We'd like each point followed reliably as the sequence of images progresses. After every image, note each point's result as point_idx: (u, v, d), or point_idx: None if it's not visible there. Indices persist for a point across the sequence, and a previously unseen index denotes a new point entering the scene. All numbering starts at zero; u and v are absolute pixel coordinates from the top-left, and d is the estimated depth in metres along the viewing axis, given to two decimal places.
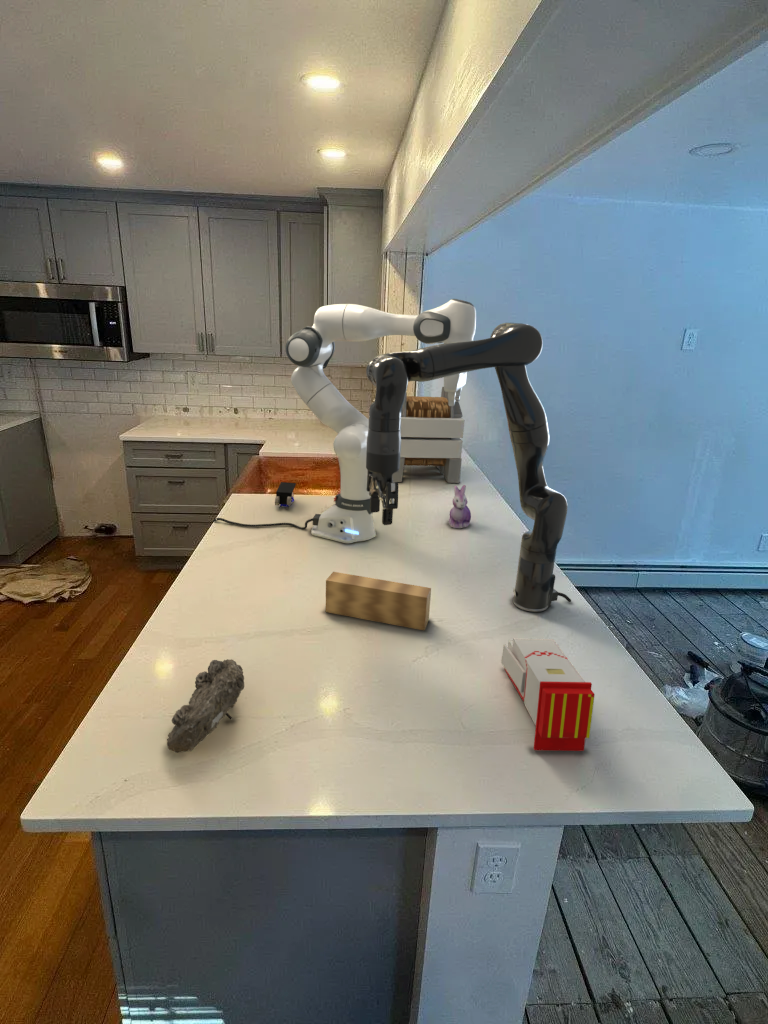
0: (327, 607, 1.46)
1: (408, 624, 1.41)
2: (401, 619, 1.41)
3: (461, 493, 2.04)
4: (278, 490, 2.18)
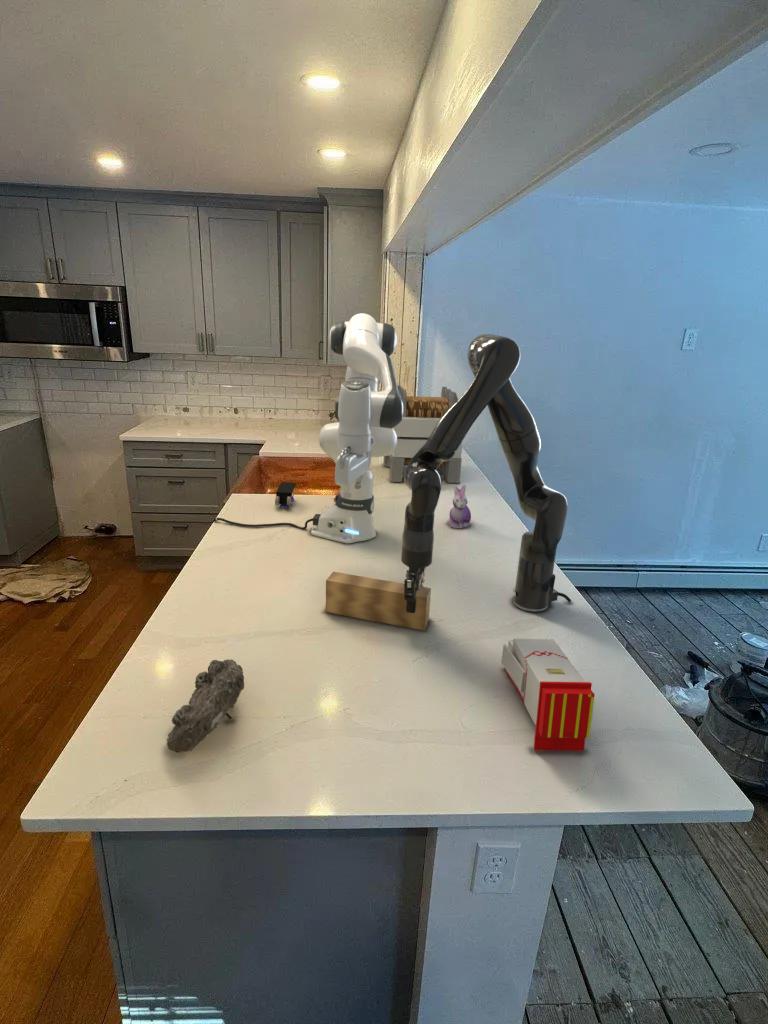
0: (327, 607, 1.46)
1: (408, 624, 1.41)
2: (401, 619, 1.41)
3: (461, 493, 2.04)
4: (278, 490, 2.18)
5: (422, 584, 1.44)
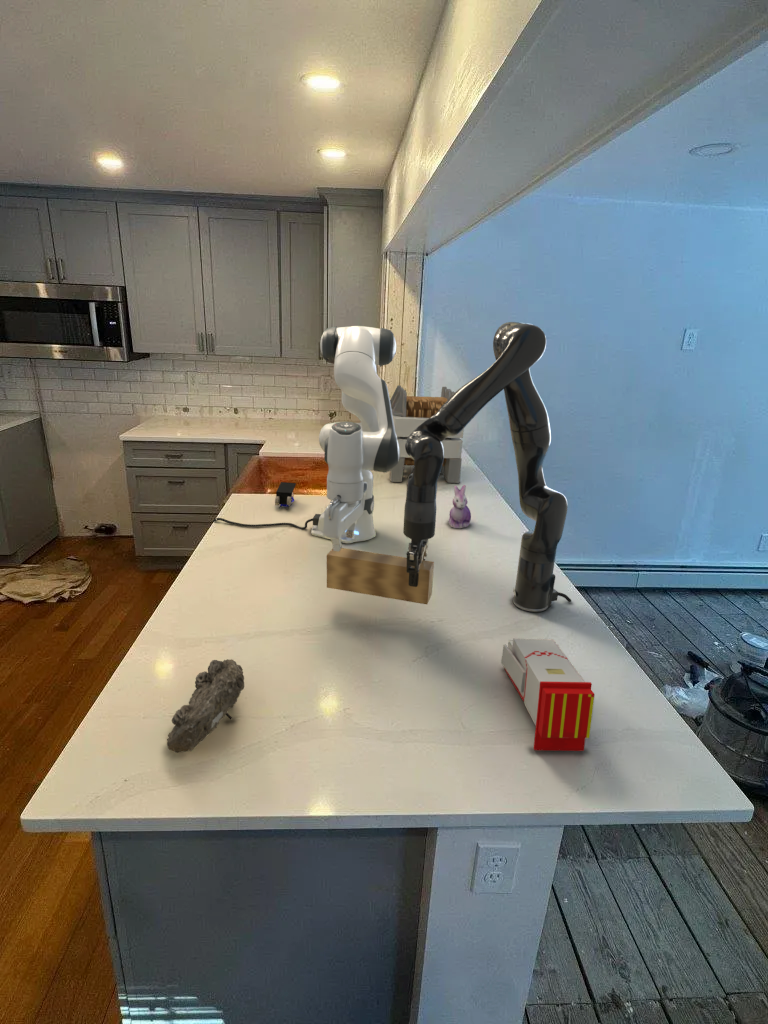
0: (328, 582, 1.44)
1: (410, 599, 1.39)
2: (403, 593, 1.39)
3: (461, 493, 2.04)
4: (278, 490, 2.18)
5: None
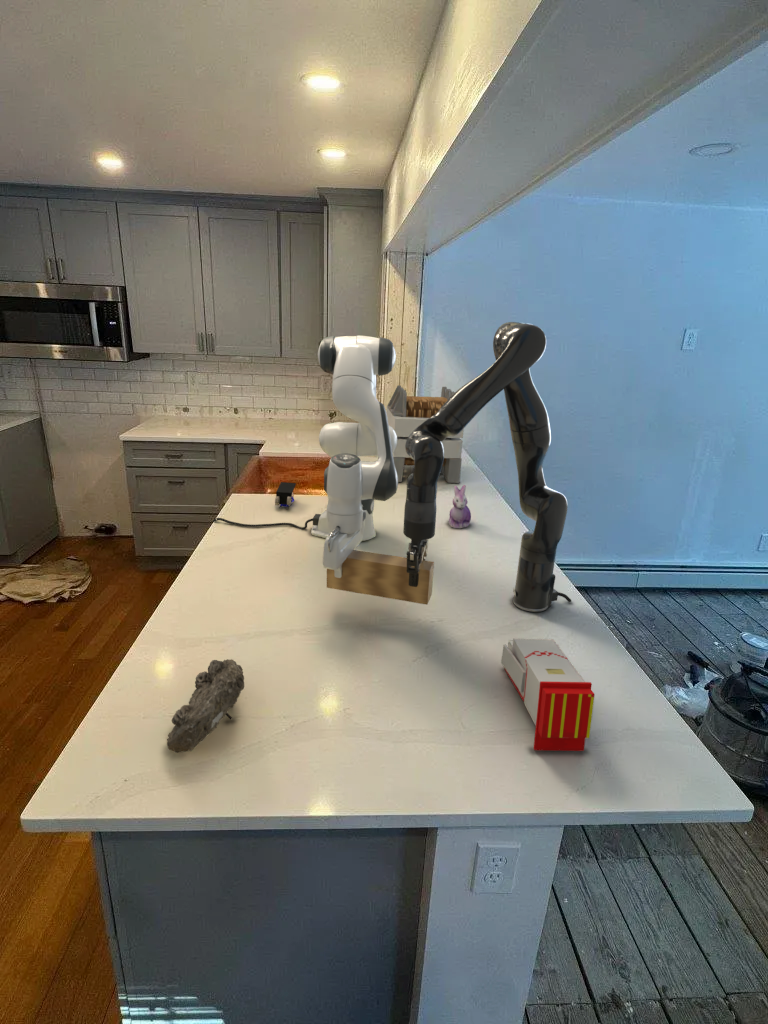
0: (328, 583, 1.44)
1: (410, 599, 1.39)
2: (403, 593, 1.39)
3: (461, 493, 2.04)
4: (278, 490, 2.18)
5: None
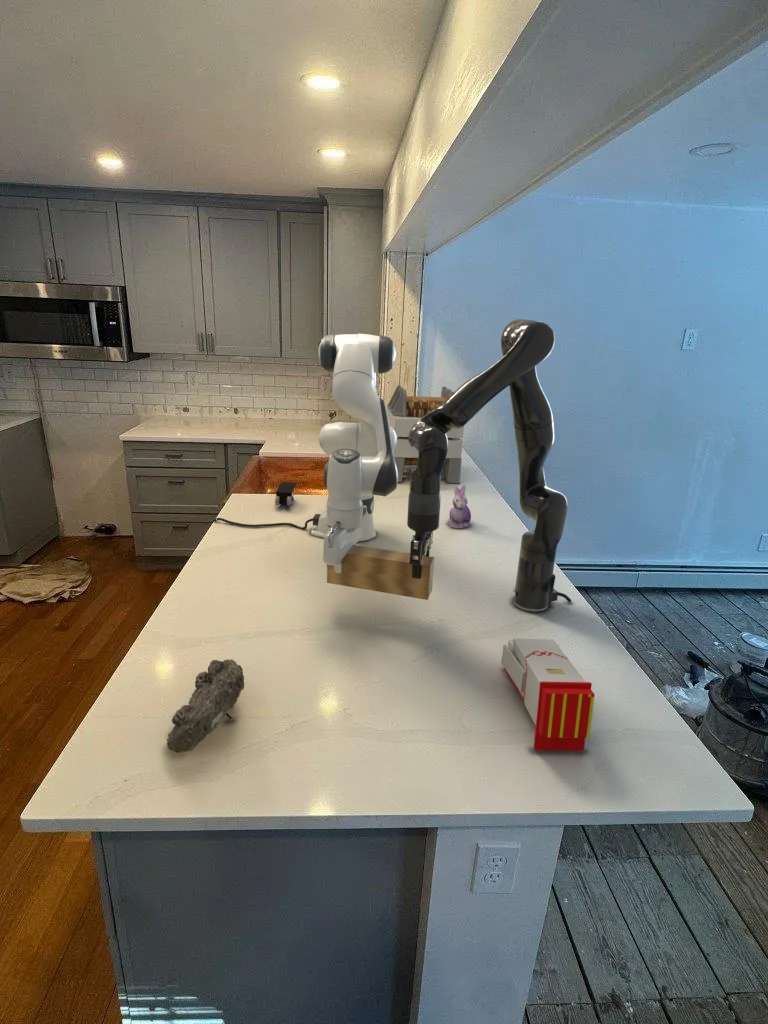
0: (328, 578, 1.44)
1: (411, 594, 1.39)
2: (404, 588, 1.39)
3: (461, 493, 2.04)
4: (278, 490, 2.18)
5: (430, 546, 1.41)
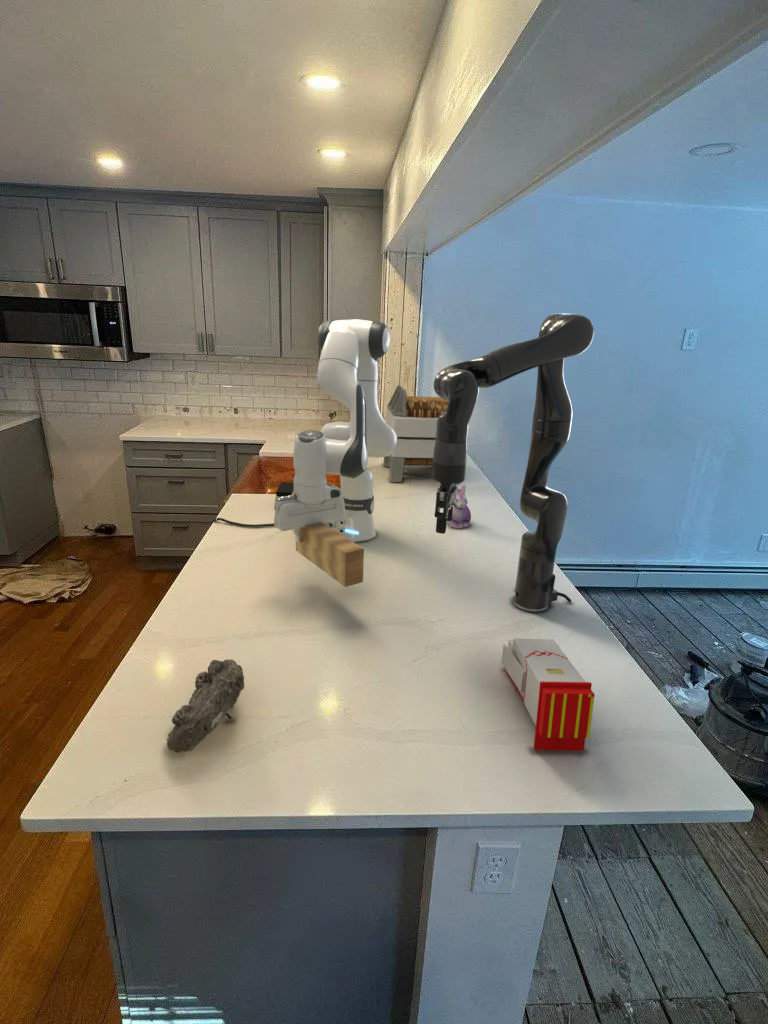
0: (296, 546, 1.59)
1: (336, 577, 1.43)
2: (332, 570, 1.44)
3: (461, 493, 2.04)
4: (278, 490, 2.18)
5: (454, 502, 1.36)
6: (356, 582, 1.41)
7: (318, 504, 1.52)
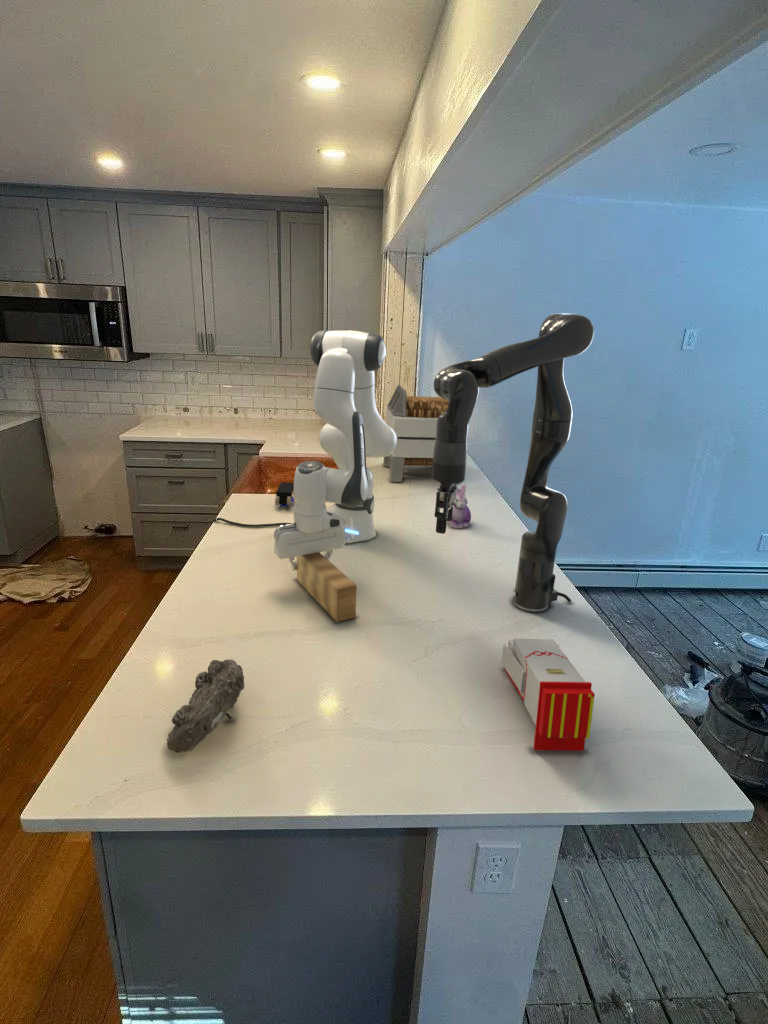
0: (297, 575, 1.62)
1: (329, 611, 1.45)
2: (326, 604, 1.47)
3: (461, 493, 2.04)
4: (278, 490, 2.18)
5: (454, 502, 1.36)
6: (348, 617, 1.44)
7: (317, 533, 1.54)
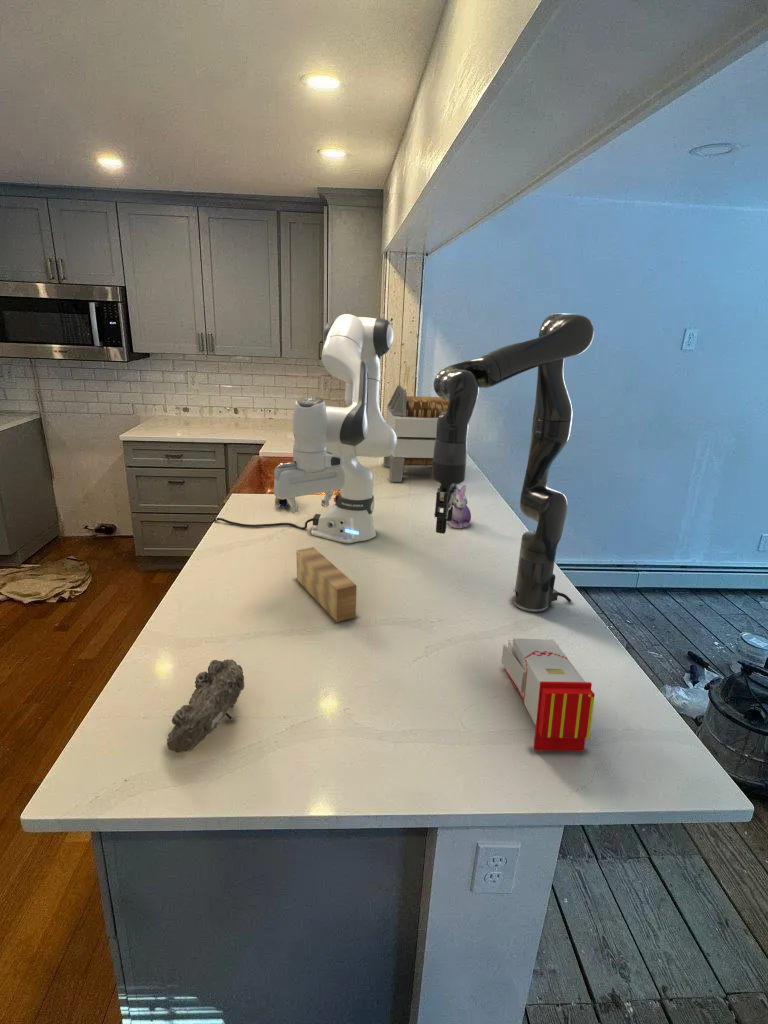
0: (297, 575, 1.62)
1: (329, 611, 1.45)
2: (326, 604, 1.47)
3: (461, 493, 2.04)
4: None
5: (454, 502, 1.36)
6: (348, 617, 1.44)
7: (318, 472, 1.48)
